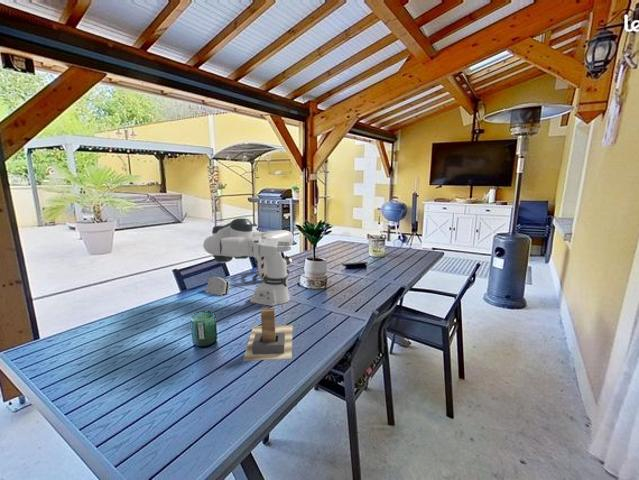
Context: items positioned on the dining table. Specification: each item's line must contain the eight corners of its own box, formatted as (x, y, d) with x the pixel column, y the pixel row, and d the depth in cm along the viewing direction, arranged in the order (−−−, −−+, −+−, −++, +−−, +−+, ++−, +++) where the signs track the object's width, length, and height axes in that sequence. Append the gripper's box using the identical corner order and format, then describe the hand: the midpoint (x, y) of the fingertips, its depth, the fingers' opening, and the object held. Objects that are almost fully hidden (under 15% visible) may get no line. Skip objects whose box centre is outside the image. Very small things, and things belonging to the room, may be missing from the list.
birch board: (253, 328, 144) (253, 326, 144) (292, 326, 146) (292, 324, 146) (243, 363, 117) (242, 360, 117) (291, 361, 118) (291, 358, 118)
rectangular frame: (255, 341, 131) (255, 333, 130) (284, 340, 132) (284, 332, 131) (252, 354, 121) (252, 346, 120) (283, 353, 122) (283, 344, 121)
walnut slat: (263, 345, 128) (261, 308, 125) (275, 344, 128) (274, 307, 125) (262, 349, 125) (261, 311, 122) (275, 348, 125) (274, 310, 122)
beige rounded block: (204, 290, 193) (207, 274, 194) (210, 291, 197) (213, 275, 198) (221, 296, 184) (225, 279, 185) (228, 296, 188) (231, 280, 188)
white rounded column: (242, 280, 211) (266, 269, 245) (279, 284, 204) (298, 273, 237) (242, 244, 208) (266, 238, 242) (280, 247, 201) (299, 241, 234)
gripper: (259, 248, 149) (289, 247, 150) (254, 259, 129) (288, 258, 130) (259, 235, 148) (289, 234, 149) (253, 243, 128) (288, 243, 129)
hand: (288, 245), depth 139 cm, fingers open, 8 cm apart
